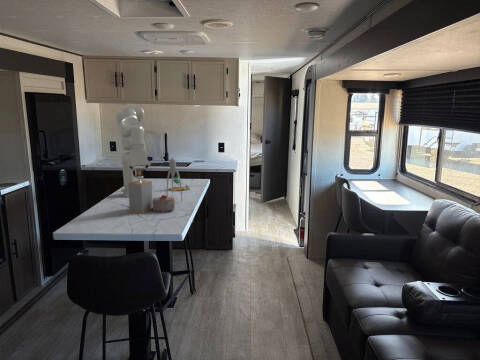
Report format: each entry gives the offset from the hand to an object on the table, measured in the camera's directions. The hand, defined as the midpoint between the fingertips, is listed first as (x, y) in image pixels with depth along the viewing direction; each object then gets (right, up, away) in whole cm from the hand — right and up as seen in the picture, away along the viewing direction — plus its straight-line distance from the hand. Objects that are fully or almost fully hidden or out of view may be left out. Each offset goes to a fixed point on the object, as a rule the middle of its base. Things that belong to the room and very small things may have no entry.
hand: (139, 175), depth 222 cm
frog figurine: (+14, -11, +59) cm, 62 cm away
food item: (+14, -22, +4) cm, 27 cm away
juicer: (+18, -17, +27) cm, 36 cm away
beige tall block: (0, -21, +4) cm, 22 cm away
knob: (0, -20, +4) cm, 21 cm away
